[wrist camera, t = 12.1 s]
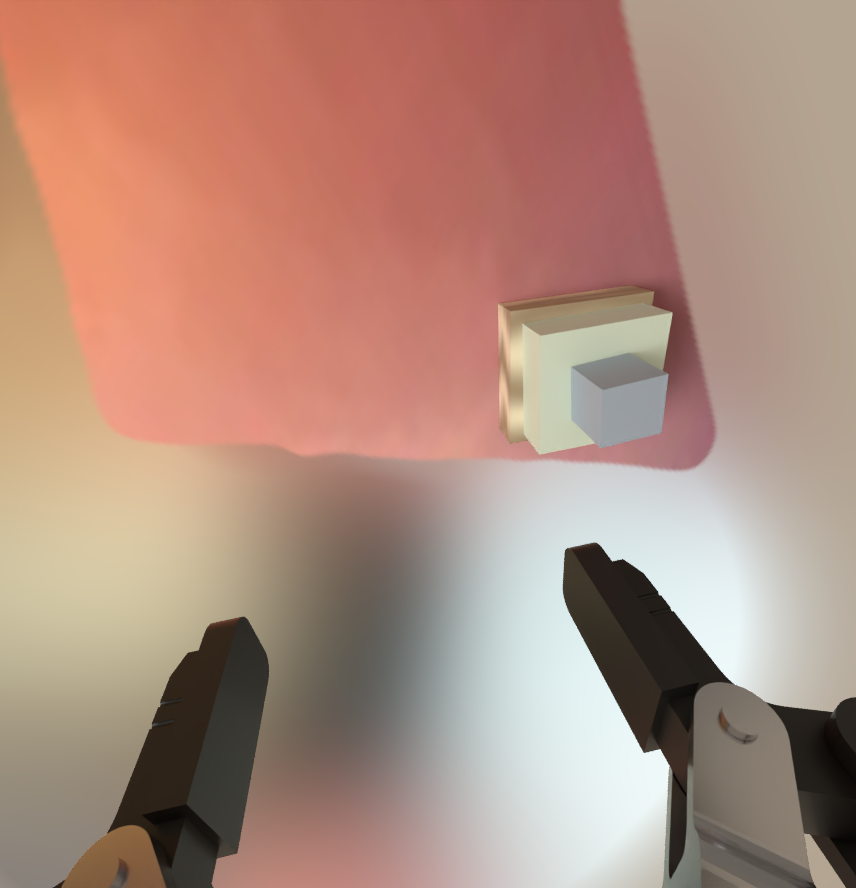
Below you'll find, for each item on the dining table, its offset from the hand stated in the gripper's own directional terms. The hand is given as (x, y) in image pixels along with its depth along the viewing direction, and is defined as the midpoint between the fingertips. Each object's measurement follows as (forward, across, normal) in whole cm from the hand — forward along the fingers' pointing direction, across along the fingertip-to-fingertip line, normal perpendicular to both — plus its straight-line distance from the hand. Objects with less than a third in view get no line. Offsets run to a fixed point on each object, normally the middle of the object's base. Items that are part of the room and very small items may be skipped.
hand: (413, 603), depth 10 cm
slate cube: (+24, -18, +7) cm, 31 cm away
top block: (+28, -18, +7) cm, 34 cm away
